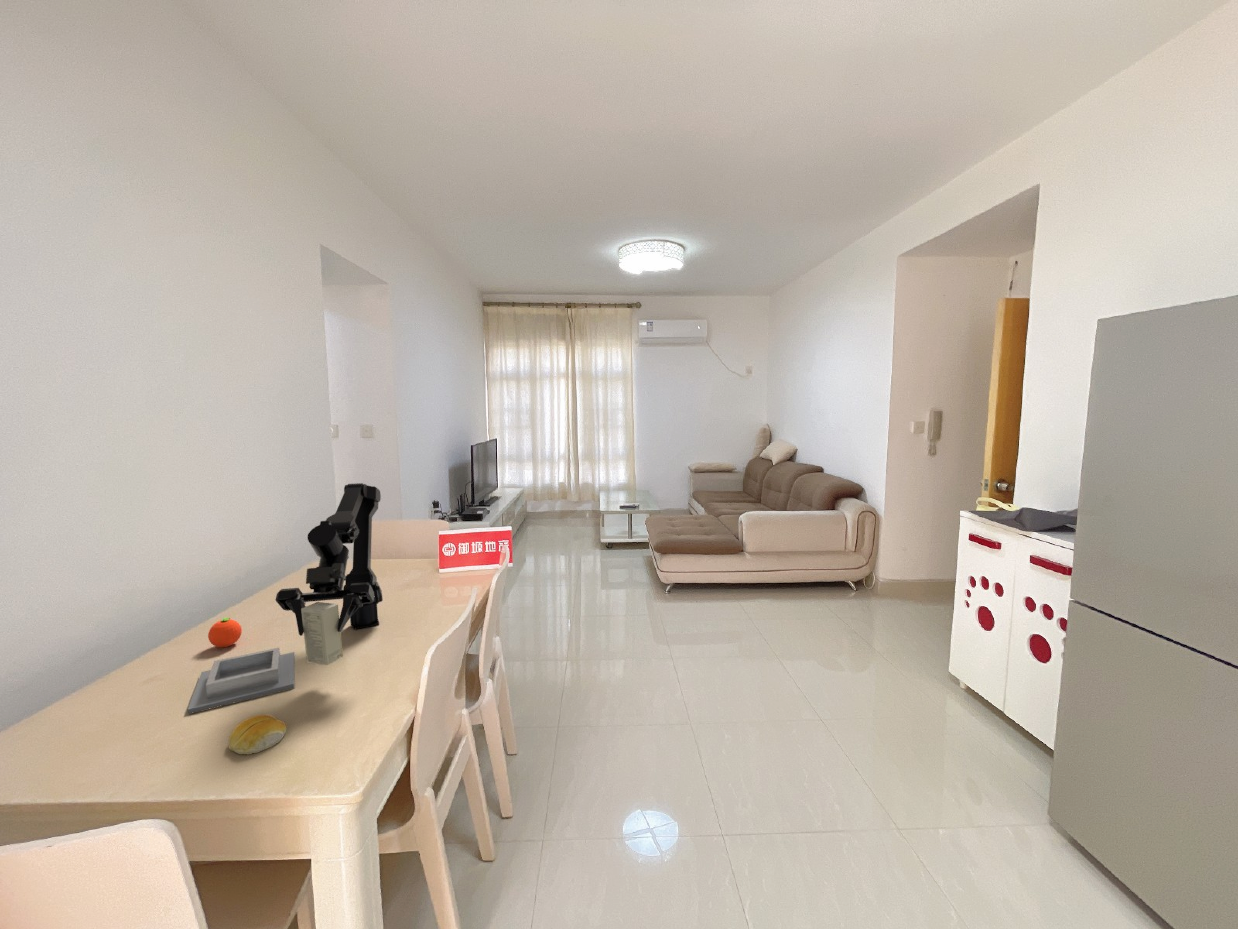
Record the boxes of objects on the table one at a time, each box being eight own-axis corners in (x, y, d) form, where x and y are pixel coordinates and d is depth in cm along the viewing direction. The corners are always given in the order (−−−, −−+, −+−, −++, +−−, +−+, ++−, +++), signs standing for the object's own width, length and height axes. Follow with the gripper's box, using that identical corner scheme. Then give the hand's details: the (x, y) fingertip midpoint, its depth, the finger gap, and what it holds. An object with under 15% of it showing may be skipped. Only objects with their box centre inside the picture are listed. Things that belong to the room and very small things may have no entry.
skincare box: (343, 657, 115) (340, 604, 114) (326, 666, 111) (322, 611, 110) (322, 653, 117) (318, 601, 116) (304, 662, 113) (300, 608, 112)
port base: (294, 655, 128) (294, 652, 128) (294, 688, 113) (293, 683, 113) (202, 676, 119) (201, 672, 119) (187, 714, 104) (187, 709, 104)
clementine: (215, 641, 137) (212, 615, 137) (247, 636, 140) (244, 611, 139) (205, 654, 130) (202, 627, 129) (238, 649, 133) (236, 622, 132)
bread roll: (269, 722, 101) (267, 703, 101) (293, 737, 96) (291, 716, 96) (219, 746, 94) (217, 725, 94) (242, 763, 89) (240, 741, 89)
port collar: (280, 659, 124) (279, 647, 124) (278, 682, 114) (277, 668, 114) (215, 673, 118) (214, 661, 118) (207, 699, 107) (205, 685, 107)
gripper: (275, 553, 113) (256, 623, 104) (367, 547, 117) (357, 613, 108) (292, 577, 122) (276, 643, 112) (378, 571, 126) (369, 634, 116)
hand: (319, 633), depth 112 cm, fingers closed on skincare box, 7 cm apart
